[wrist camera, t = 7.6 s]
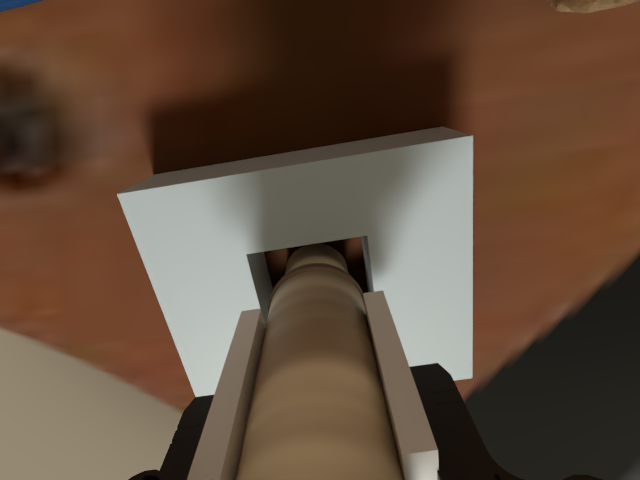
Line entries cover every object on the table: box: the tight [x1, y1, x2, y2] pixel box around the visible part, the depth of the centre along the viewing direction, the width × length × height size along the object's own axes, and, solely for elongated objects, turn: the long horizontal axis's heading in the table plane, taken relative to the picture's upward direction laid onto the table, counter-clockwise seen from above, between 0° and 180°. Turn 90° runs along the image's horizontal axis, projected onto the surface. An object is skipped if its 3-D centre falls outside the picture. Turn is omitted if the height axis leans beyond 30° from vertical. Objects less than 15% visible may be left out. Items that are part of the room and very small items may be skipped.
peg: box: [236, 244, 404, 480], centre depth 12 cm, size 4×4×15 cm
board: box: [117, 127, 473, 397], centre depth 18 cm, size 12×14×4 cm
